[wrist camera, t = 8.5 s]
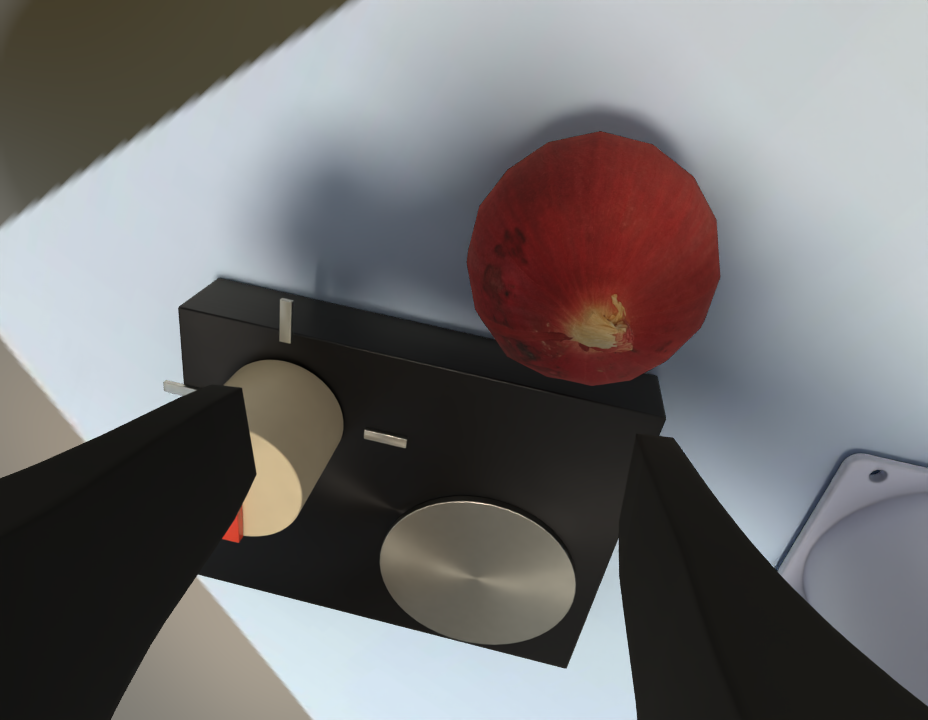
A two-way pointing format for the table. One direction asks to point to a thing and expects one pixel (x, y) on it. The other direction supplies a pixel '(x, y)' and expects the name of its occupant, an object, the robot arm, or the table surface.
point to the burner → (478, 570)
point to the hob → (420, 446)
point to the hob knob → (283, 442)
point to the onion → (594, 259)
